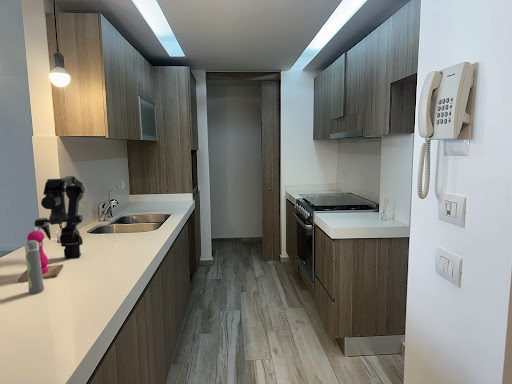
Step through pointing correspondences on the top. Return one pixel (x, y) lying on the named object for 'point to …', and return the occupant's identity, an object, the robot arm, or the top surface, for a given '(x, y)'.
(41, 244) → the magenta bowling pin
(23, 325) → the top surface
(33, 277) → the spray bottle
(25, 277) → the taupe cutting board
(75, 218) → the robot arm
